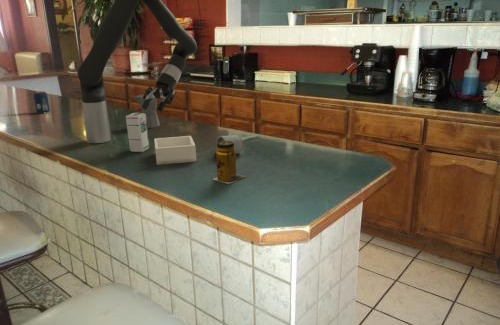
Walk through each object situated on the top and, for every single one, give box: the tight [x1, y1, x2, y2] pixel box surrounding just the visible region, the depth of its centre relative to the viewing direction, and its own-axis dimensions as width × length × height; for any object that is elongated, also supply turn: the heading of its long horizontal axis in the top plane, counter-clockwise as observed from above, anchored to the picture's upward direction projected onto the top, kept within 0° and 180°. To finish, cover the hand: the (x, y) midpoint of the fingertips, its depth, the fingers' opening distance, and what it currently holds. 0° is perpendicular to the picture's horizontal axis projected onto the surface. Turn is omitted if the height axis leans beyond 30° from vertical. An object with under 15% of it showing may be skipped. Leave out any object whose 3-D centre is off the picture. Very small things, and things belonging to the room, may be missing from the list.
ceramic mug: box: [215, 134, 244, 155], centre depth 151 cm, size 11×8×8 cm
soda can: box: [33, 91, 51, 114], centre depth 229 cm, size 7×7×12 cm
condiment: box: [212, 141, 247, 185], centre depth 125 cm, size 7×8×12 cm
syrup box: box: [125, 112, 150, 153], centre depth 155 cm, size 6×6×14 cm
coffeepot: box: [133, 89, 161, 129], centre depth 194 cm, size 15×9×18 cm, turn 113°
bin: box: [154, 135, 197, 166], centre depth 147 cm, size 14×14×6 cm
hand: (151, 109), depth 159 cm, fingers open, 8 cm apart
